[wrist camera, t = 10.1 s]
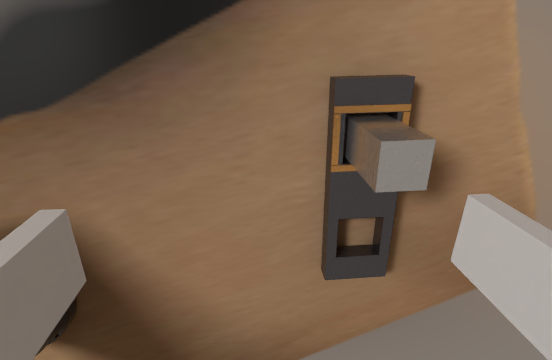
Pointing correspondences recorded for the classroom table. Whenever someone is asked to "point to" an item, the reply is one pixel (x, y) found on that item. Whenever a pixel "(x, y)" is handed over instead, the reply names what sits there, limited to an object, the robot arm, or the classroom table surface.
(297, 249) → the classroom table surface
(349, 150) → the square gray post
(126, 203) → the classroom table surface
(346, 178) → the peg insertion base
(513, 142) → the classroom table surface
